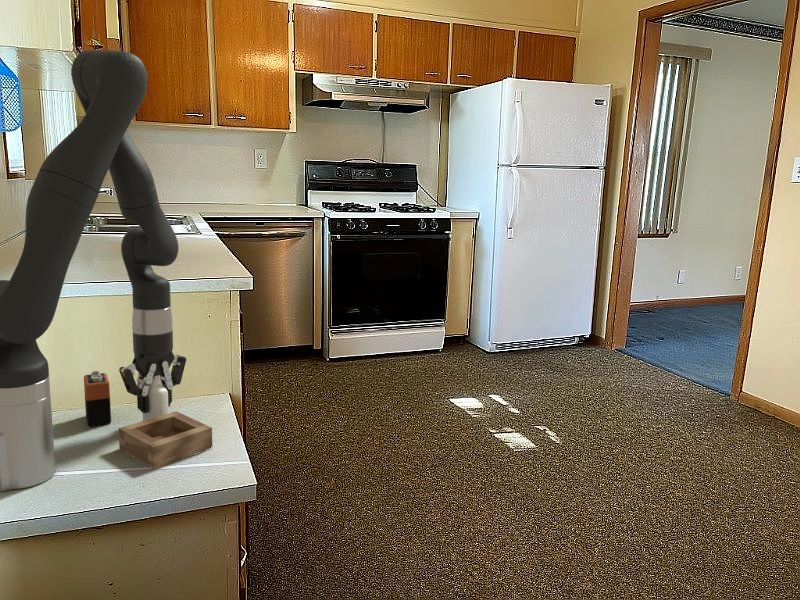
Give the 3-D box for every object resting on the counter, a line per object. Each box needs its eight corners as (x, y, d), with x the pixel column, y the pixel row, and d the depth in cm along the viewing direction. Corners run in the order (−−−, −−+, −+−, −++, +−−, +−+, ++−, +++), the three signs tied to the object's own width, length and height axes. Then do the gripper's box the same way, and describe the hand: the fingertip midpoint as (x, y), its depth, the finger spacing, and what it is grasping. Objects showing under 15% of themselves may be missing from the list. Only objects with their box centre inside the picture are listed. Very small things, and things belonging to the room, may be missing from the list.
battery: (87, 427, 125) (85, 380, 123) (85, 415, 130) (83, 370, 128) (111, 424, 127) (109, 377, 125) (108, 412, 133) (106, 368, 131)
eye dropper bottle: (163, 417, 132) (161, 363, 129) (170, 426, 127) (168, 370, 125) (141, 420, 129) (139, 365, 127) (147, 430, 125) (145, 373, 122)
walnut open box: (154, 471, 109) (153, 447, 108) (119, 450, 116) (118, 428, 115) (212, 449, 118) (212, 427, 117) (176, 432, 125) (176, 411, 124)
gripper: (128, 338, 116) (132, 423, 120) (194, 326, 127) (196, 404, 131) (108, 330, 121) (112, 413, 124) (174, 320, 132) (176, 396, 135)
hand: (155, 408), depth 127 cm, fingers open, 4 cm apart
